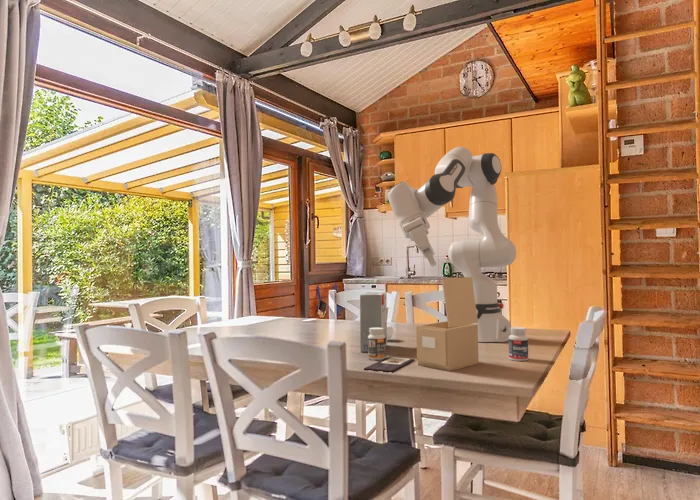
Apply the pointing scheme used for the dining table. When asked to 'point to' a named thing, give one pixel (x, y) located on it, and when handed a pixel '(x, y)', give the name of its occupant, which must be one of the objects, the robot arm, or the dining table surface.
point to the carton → (447, 345)
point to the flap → (459, 301)
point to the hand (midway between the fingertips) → (433, 265)
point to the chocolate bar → (389, 364)
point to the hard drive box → (372, 316)
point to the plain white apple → (389, 332)
